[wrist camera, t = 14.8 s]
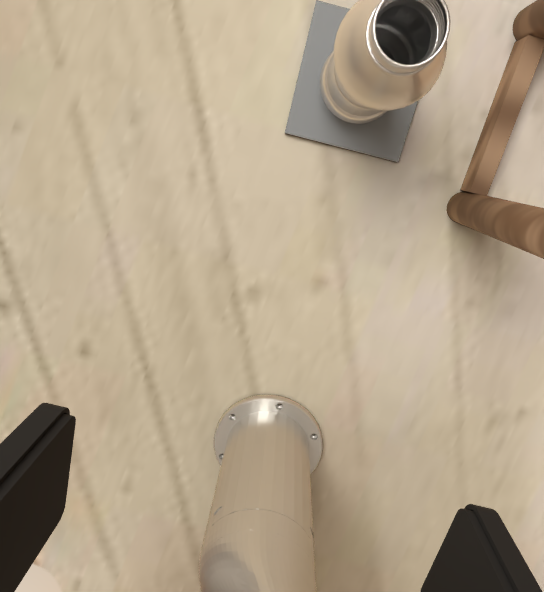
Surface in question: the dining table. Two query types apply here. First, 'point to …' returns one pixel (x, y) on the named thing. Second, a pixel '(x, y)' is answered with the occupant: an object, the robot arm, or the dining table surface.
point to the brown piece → (499, 124)
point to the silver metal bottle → (384, 57)
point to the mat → (315, 114)
